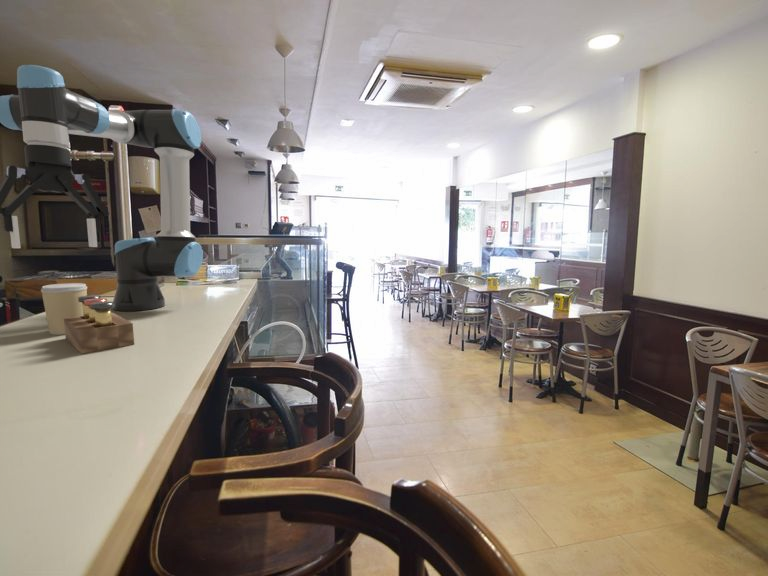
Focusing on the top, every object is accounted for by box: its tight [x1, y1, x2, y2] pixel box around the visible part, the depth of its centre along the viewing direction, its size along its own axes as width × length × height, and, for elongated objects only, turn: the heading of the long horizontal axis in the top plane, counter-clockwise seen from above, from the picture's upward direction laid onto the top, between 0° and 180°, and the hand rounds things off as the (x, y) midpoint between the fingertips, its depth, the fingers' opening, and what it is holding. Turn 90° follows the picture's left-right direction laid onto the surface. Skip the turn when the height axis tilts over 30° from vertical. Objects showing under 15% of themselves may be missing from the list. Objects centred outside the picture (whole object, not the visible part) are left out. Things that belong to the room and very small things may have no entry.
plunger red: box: [84, 297, 108, 323], centre depth 94 cm, size 4×4×6 cm
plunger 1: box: [78, 294, 102, 319], centre depth 98 cm, size 4×4×6 cm
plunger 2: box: [90, 301, 114, 328], centre depth 90 cm, size 4×4×6 cm
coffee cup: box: [40, 282, 88, 336], centre depth 104 cm, size 9×9×12 cm
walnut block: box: [64, 312, 135, 354], centre depth 95 cm, size 10×17×5 cm, turn 47°
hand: (57, 247), depth 88 cm, fingers open, 13 cm apart
